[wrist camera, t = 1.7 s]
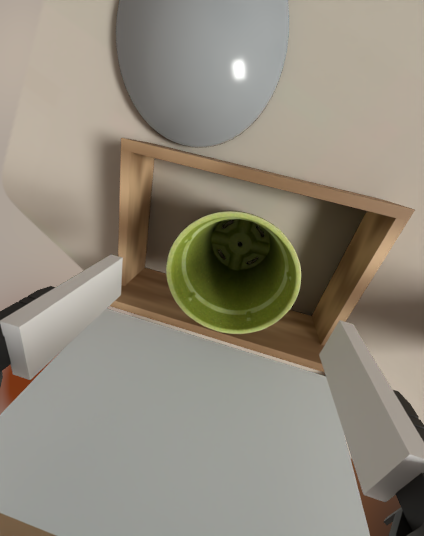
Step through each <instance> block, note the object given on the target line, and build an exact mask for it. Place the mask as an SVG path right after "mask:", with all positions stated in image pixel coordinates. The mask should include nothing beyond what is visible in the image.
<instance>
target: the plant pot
mask: <svg viewBox="0 0 424 536" xmlns="http://www.w3.org/2000/svg"><path fill="white" fill-rule="evenodd" d="M231 220H233V221H234V223H232V224H230V225H228V226H227V227H226V228H225V229H222V226H223V224H225V223H227V222H228V221H231ZM256 226H259V228H260V229H261V230H262V231H263V233H264V237H261V235H260V233H259V231H258V230H257V229H256ZM238 242H242V246H241V247H240V246H238ZM219 249H220V250H221V252H222V254H223V255H224V257H225V258H226V259H223V258H222V257H221V256H220V255H219V253H218V250H219ZM256 257H258V258H257V260H256V261H255V262H254V263H252V264H246V263H247V262H248V261H251V260H253V259H254V258H256ZM166 275H167V282H168V285H169V289H170V291H171V294H172V296H173V298H174V300H175V301H176V303H177V304H178V305H179V307H180V308H181V309H182V310H183V311H184V312H185V313H186V314H187V315H188V316H189V317H190V318H192V319H193V320H195V321H196V322H198V323H199V324H201V325H203V326H205V327H207V328H210V329H212V330H215V331H219V332H223V333H231V334H245V333H251V332H256V331H260V330H262V329H265V328H267V327H269V326H271V325H273V324H274V323H276V322H277V321H279V320H280V319H281V318H282V317H283V316H284V315H285V314H286V313H287V312H288V311H289V310H290V309H291V307H292V306H293V304H294V302H295V300H296V298H297V296H298V293H299V290H300V285H301V267H300V262H299V259H298V256H297V254H296V251H295V249H294V248H293V246H292V244H291V243H290V241H289V240H288V239H287V237H286V236H285V235H284V234H283V233H282V232H281V231H280V230H279V229H278V228H277V227H275V226H274V225H273V224H271V223H270V222H268V221H266V220H264V219H263V218H260V217H258V216H255V215H253V214H249V213H244V212H237V211H223V212H217V213H213V214H209V215H207V216H204V217H202V218H200V219H198V220H196V221H194V222H193V223H191V224H190V225H189V226H187V227H186V228H185V229H184V230H183V231H182V232H181V233H180V234H179V236H178V237H177V238H176V240H175V241H174V243H173V245H172V247H171V249H170V252H169V255H168V259H167V266H166Z"/></svg>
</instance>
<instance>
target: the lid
mask: <svg viewBox="0 0 424 536" xmlns="http://www.w3.org/2000/svg"><path fill="white" fill-rule="evenodd" d="M0 536H370V534H369V530H368V526H367V522H366V518H365V514H364V510H363V506H362V502H361V499H360V495H359V491H358V487H357V483H356V479H355V475H354V471H353V467H352V463H351V459H350V455H349V452H348V448H347V444H346V440H345V436H344V432H343V428H342V425H341V422H340V419H339V416H338V413H337V409H336V406H335V403H334V400H333V397H332V394H331V391H330V387H329V384H328V381H327V378H326V376H323V375H320V374H316V373H313V372H310V371H307V370H303V369H300V368H297V367H294V366H291V365H287V364H284V363H281V362H278V361H274V360H271V359H268V358H265V357H262V356H258V355H255V354H252V353H249V352H245V351H242V350H239V349H236V348H233V347H229V346H226V345H223V344H220V343H216V342H213V341H210V340H207V339H204V338H200V337H197V336H194V335H191V334H187V333H184V332H181V331H178V330H175V329H171V328H168V327H165V326H162V325H158V324H155V323H152V322H149V321H146V320H142V319H139V318H136V317H133V316H129V315H126V314H123V313H120V312H116V311H113V310H110V309H106V310H105V311H103V312H102V313H101V314H100V315H99V316H98V317H97V318H96V319H95V320H94V321H93V322H92V323H91V324H90V325H88V326H87V327H86V328H85V329H84V330H83V331H82V332H81V333H80V334H79V335H78V336H77V337H76V338H75V339H74V340H72V341H71V342H70V343H69V344H68V345H67V346H66V347H65V348H64V349H63V350H62V351H61V352H60V353H59V355H57V356H56V357H55V358H54V359H53V361H52V362H51V363H50V364H49V365H48V366H47V367H46V368H45V369H44V370H43V371H42V372H41V373H40V374H39V375H38V376H37V377H36V378H35V379H34V380H33V382H31V383H30V384H29V386H28V387H27V388H26V389H25V390H24V391H23V392H22V393H21V394H20V395H19V396H18V397H17V398H16V399H15V400H14V401H13V402H12V403H11V404H10V405H9V406H8V407H7V408H6V409H5V411H3V412H2V414H1V415H0Z"/></svg>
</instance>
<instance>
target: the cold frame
mask: <svg viewBox="0 0 424 536" xmlns="http://www.w3.org/2000/svg"><path fill="white" fill-rule="evenodd" d="M154 158H157V159H161V160H165V161H169V162H173V163H177V164H181V165H185V166H189V167H193V168H197V169H201V170H205V171H209V172H213V173H217V174H221V175H225V176H229V177H233V178H237V179H241V180H245V181H249V182H253V183H257V184H261V185H265V186H269V187H273V188H277V189H281V190H285V191H289V192H293V193H297V194H301V195H305V196H309V197H313V198H317V199H321V200H325V201H330V202H334V203H338V204H342V205H346V206H350V207H354V208H358V209H362V210H366V211H367V212H366V214H365V216H364V217H363V219H362V221H361V223H360V225H359V227H358V229H357V231H356V233H355V235H354V236H353V238H352V240H351V242H350V244H349V246H348V248H347V250H346V252H345V254H344V255H343V257H342V259H341V261H340V263H339V265H338V267H337V269H336V271H335V273H334V274H333V276H332V278H331V280H330V282H329V284H328V286H327V288H326V290H325V292H324V293H323V295H322V297H321V299H320V301H319V303H318V305H317V307H316V309H315V311H314V312H313V314H312V316H309V315H306V314H303V313H299V312H296V311H292V310H289V311H288V312H287V313H286V314H285V315H284V316H283V317H282V318H281V319H280V320H279V321H277V322H276V323H274V324H273V325H271V326H269V327H267V328H265V329H262V330H260V331H256V332H251V333H245V334H231V333H223V332H219V331H215V330H212V329H210V328H207V327H205V326H203V325H201V324H199V323H198V322H196V321H195V320H193V319H192V318H190V317H189V316H188V315H187V314H186V313H185V312H184V311H183V310H182V309H181V308H180V307H179V305H178V304H177V303H176V301H175V300H174V298H173V296H172V294H171V291H170V289H169V285H168V282H167V275H166V274H165V273H162V272H158V271H155V270H151V269H148V268H145V260H146V248H147V237H148V225H149V214H150V202H151V191H152V180H153V168H154ZM414 211H415V210H414V209H411V208H408V207H404V206H401V205H398V204H395V203H392V202H388V201H385V200H382V199H378V198H373V197H369V196H365V195H361V194H357V193H353V192H349V191H345V190H341V189H337V188H333V187H328V186H324V185H320V184H316V183H312V182H308V181H304V180H300V179H296V178H292V177H287V176H283V175H279V174H275V173H271V172H267V171H263V170H259V169H255V168H251V167H246V166H242V165H238V164H234V163H230V162H226V161H222V160H218V159H214V158H210V157H206V156H201V155H197V154H193V153H189V152H185V151H181V150H177V149H173V148H169V147H165V146H160V145H156V144H152V143H148V142H143V141H137V140H131V139H125V138H121V164H120V202H119V241H118V257H122V258H123V261H122V283H121V296H119V297H118V298H117V299H116V300H115V301H114V302H113V303H112V304H111V305H110V306H112V307H115V308H118V309H121V310H124V311H128V312H131V313H134V314H137V315H141V316H144V317H147V318H150V319H153V320H157V321H160V322H163V323H166V324H170V325H173V326H176V327H179V328H183V329H186V330H189V331H192V332H196V333H199V334H202V335H205V336H208V337H212V338H215V339H218V340H221V341H225V342H228V343H231V344H234V345H238V346H241V347H244V348H247V349H251V350H254V351H257V352H260V353H263V354H267V355H270V356H273V357H276V358H280V359H283V360H286V361H289V362H293V363H296V364H299V365H302V366H306V367H309V368H312V369H315V370H318V371H322V372H324V369H323V366H322V362H321V359H320V356H319V354H320V352H321V351H322V349H323V347H324V346H325V344H326V342H327V341H328V339H329V337H330V336H331V334H332V332H333V330H334V329H335V327H336V325H337V324H338V322H339V320H341V321H344V322H346V320H347V318H348V317H349V315H350V314H351V312H352V310H353V309H354V307H355V305H356V304H357V302H358V301H359V299H360V297H361V296H362V294H363V293H364V291H365V289H366V288H367V286H368V285H369V283H370V281H371V280H372V278H373V277H374V275H375V273H376V272H377V270H378V269H379V267H380V265H381V264H382V262H383V260H384V259H385V257H386V256H387V254H388V252H389V251H390V249H391V248H392V246H393V244H394V243H395V241H396V240H397V238H398V236H399V235H400V233H401V232H402V230H403V228H404V227H405V225H406V223H407V222H408V220H409V219H410V217H411V215H412V214H413V212H414Z"/></svg>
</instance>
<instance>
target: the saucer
mask: <svg viewBox="0 0 424 536" xmlns="http://www.w3.org/2000/svg"><path fill="white" fill-rule="evenodd" d="M288 37H289V8H288V0H119V6H118V13H117V24H116V44H117V53H118V61H119V65H120V70H121V74H122V77H123V81H124V84H125V87H126V89H127V91H128V94H129V96H130V98H131V100H132V102H133V103H134V105H135V107H136V109H137V110H138V111H139V113H140V114H141V116H142V117H143V118H144V119H145V121H146V122H147V123H148V124H149V125H150V126H151V127H152V128H153V129H155V130H156V131H157V132H158V133H160V134H161V135H162V136H164V137H165V138H167V139H169V140H171V141H173V142H176V143H179V144H182V145H186V146H192V147H211V146H216V145H220V144H223V143H225V142H228V141H230V140H232V139H234V138H235V137H237V136H238V135H240V134H242V133H243V132H244V131H245V130H246V129H248V128H249V127H250V126H251V125H252V124H253V123H254V122H255V121H256V120H257V118H258V117H259V116H260V115H261V113H262V112H263V111H264V109H265V108H266V106H267V104H268V103H269V101H270V99H271V98H272V96H273V93H274V91H275V89H276V87H277V85H278V82H279V79H280V76H281V73H282V69H283V65H284V61H285V56H286V52H287V45H288Z"/></svg>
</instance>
